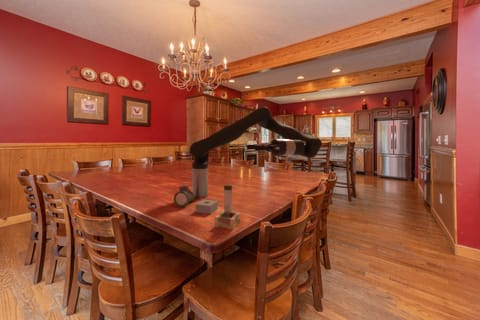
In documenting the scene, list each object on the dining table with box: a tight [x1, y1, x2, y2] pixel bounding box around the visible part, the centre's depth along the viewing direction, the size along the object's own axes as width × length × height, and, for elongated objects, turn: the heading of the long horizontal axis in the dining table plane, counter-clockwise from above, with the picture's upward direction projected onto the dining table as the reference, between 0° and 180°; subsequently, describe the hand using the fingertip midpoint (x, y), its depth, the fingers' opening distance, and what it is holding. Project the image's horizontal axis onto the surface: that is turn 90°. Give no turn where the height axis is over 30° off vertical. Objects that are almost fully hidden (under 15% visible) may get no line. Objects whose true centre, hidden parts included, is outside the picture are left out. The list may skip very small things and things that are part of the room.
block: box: [194, 199, 219, 215], centre depth 104 cm, size 8×8×4 cm
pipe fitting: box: [173, 185, 195, 208], centre depth 115 cm, size 12×8×10 cm
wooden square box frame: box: [214, 210, 241, 230], centre depth 87 cm, size 8×8×4 cm
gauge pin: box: [223, 184, 233, 218], centre depth 87 cm, size 3×3×16 cm
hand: (250, 147), depth 92 cm, fingers open, 8 cm apart
